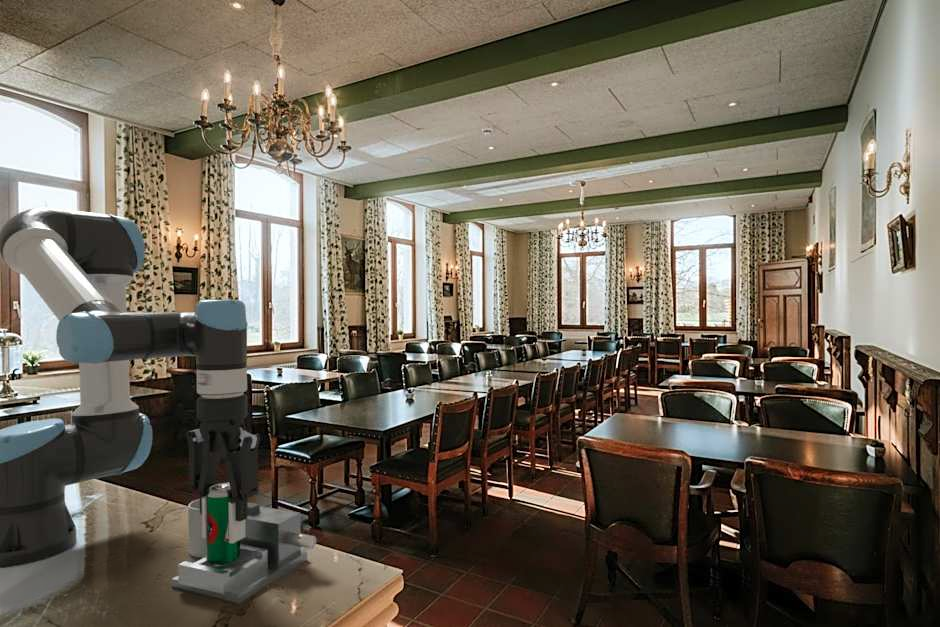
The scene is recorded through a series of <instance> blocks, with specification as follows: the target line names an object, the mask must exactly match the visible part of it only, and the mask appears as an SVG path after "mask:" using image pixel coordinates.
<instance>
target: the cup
mask: <svg viewBox="0 0 940 627" xmlns="http://www.w3.org/2000/svg"><path fill="white" fill-rule="evenodd" d="M187 505H188V506H187V507H188V508H187V509H188V510H187V511H188V513H187V514H188V515H187V517H188V520H187V521H188V553H189V555H190V556H192V557H194V558H204V557H206V538H202V515H201V514H200V498H198V499H195V500H192V501H191V502H190V503H189V504H187Z"/></svg>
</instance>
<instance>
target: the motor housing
mask: <svg viewBox="0 0 940 627" xmlns="http://www.w3.org/2000/svg"><path fill="white" fill-rule="evenodd" d="M247 510H248V516H247V519H245V537H244V538H242V539H241V540H240V556H239V557H238V558H237V560H236V561H234V562H232V563H230V564H227V565H222V566H214V565H211V564H209V563H208V562H207V560H206V557H201V559H199V560H197V561H194V562H190V561H187V560H185V561H183V562H179V563H178V564H177V567H178V568H177V574H178V575H177V576H174V577H173V578H171V587H172V588H176V589H180V590H183V591H187V592H192V593H196V594H201V595H203V596H208V597H211V598H217V599H219V600H224V601H229V602H232V603H236V604H241V603H242V602H244V601H245V600H247V599H249V598H250V597H252V596H253V595H255V594H256V593H258V592H259V591H261V590H264V588H266V587H267V586H269V585H271V584H272V583H274V582H276V581H277V580H278V579H280V578H282V577H284V576H285V575H286V574H288V573H290V572H291V571H292V569H293V570H294V569H296V568H297V567H299V566H300V565H302V564H304V562H307V561H308V551H306V550H302V548H306V549H314V548H315V546H316V545H317V537H316V536H315V535H310V534H304V533H301V512H298V511H293V510H287V509H279V508H278V509H277V508H273V507H265V506H261V505H260V503H254V502H248V509H247ZM270 583H271V584H270Z"/></svg>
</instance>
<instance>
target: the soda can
mask: <svg viewBox="0 0 940 627" xmlns="http://www.w3.org/2000/svg"><path fill="white" fill-rule="evenodd" d="M208 490H209V491H208V492H207V494H206V560H207V562H208V563H209V564H211V565H214V566H222V565H227V564H230V563H232V562H234V561H236V560H237V558H238V557H239V556H240V540H239V541H237V542H235V543H233V544H232V543H229V500H231V499H233V498H232V493H231V488H230V483H229V482H221V483H216V484H215V485H212V486H210V487H209V488H208Z"/></svg>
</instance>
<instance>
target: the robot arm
mask: <svg viewBox="0 0 940 627" xmlns="http://www.w3.org/2000/svg"><path fill="white" fill-rule="evenodd" d="M0 256H1V259H3V261H4V263H6V265H7V266H8V267H9V268H10V269H11V270H12V271H13V272H16V273H18V274H21V275H23V276H24V277H25V279H26V280H27V281H28V282H29V284H30V285H31V286H32V287H33V289H34V291H35V292H36V293H37V294H38V295H39V296H40V298H41V299H42V300H43V302H44V303H45V304H46V306H47V307H48V308H49V309H50V310H51V312H52V313H53V314H54V316H55V318H56V319H57V320H58V321H59V322H58V324H57V327H56V333H55V334H56V336H55V339H56V344H57V347H58V351H59V352H58V353H59V355H60V356H61V357H62V358H63V360H64V361H66V362H68V363H72V364H78V368H79V369H78V370H79V372H78V373H79V374H78V375H79V397H80V398H79V399H80V403H79V406H78V407H76V409H75V410H74V411H73V412H71V423H69V424H66V423H65V422H64V420H63V419H61V418H45V419H44V418H43V419H40V420H30V421H26V422H22V423H17V424H14V425H10V426H7V427H4V428H1V429H0V569H3V568H4V569H5V568H12V567H18V566H23V565H29V564H31V563H35V562H39V561H42V560H45V559H49V558H51V557H54V556H56V555H59V554H62V553H63V552H65V551H66V550H69V549H70V548H72V546H74V545H75V544H76V542H77V527H76V525H75V523H74V520H73V518H72V516H71V513H70V511H69V509H68V506H67V504H66V494H65V491H66V490H65V489H66V486H67V487H68V486H69V485H74V484H79V483H84V482H88V481H91V480H95V479H101V478H104V477H109V476H119V475H122V474H123V473H126V472H129V471H130V472H131V471H134V470H137V469H138V468H140V467H141V466H142V465H143V464H144V463H145V461H146V460H147V459H148V457H149V454H150V453H151V449H152V446H153V445H152V444H153V428H152V425H151V420H150V419H149V417H148V416H147V415H146V414H144V413H141V412H140V407H139V405H138V404H137V403H135V402H133V401H132V399H131V388H130V387H131V385H130V384H131V383H130V366H129V364H130V362H129V361H132V360H148V359H159V358H160V359H162V358H175V357H196V358H195V360H196V361H195V362H196V393H197V394H198V395H200V396H199V397H197V399H196V418H197V420H198V421H199V422H200V426H199V428H197V429H194V430H189V431H187V432H186V433H185V435H186V440H187V444H188V489H189V491H190V492H195V493H197V496H198V497H199V499H200V514H201V515H202V538H206V494H207V492H208V491H209V490H208V488H209V487H210V486H212V485H215V484H217V480H218V479H217V478H218V472H219V469H220V462H221V459H222V460H223V461H224V463H225V467H226V473H227V477H228V483H230V488H231V493H232V498H233V499H231V500H229V543H232V544H233V543H235V542H237V541H239V540H241V539H242V538H244V537H245V519H247V516H248V510H247V509H248V501H249V499H250V498H251V497H254V496H257V495H258V494H259V457H258V456H259V445H260V441H261V435H260V434H259V433H255V434H252V433H251V432H248V431H247V428H246V426H245V422H244V421H245V418H246V417H247V415H248V396H247V394H246V393H244V392H247V390H248V370H247V369H248V366H247V363H248V361H247V359H248V347H247V346H248V321H247V314H246V312H247V310H246V309H247V308H246V304H245V303H244V302H243V301H241V300H239V299H202V300H199V301H198V302H197V303H196V305H195V312H194V311H191V312H189V311H172V312H171V311H170V312H166V311H165V312H161V311H160V312H144V311H143V312H141V311H140V312H127V286H128V285H129V283H131V282H132V281H133V280H134V279H135V278H134V277H135V276H134V275H135V274H134V273H135V272H138V271H139V270H141V269H142V268H143V265H144V264H145V263H144V262H145V261H144V259H145V258H146V245H145V240H144V236H143V234H142V232H141V230H140V228H139V227H138V226H137V225H136V223H135V222H134V221H133V220H131V219H130V218H127V217H122V216H117V215H113V214H111V213H100V212H99V213H98V212H91V211H90V212H89V211H81V210H74V209H73V210H72V209H67V208H66V209H64V208H59V207H49V206H47V207H46V206H44V207H33V208H30V209H26V210H24V211H21V212H19V213H17V214H15V215H13V217H11V218H10V219H8V220H7V221H6V222H5V224H4V225H3V226H2V228H1V229H0Z"/></svg>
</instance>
